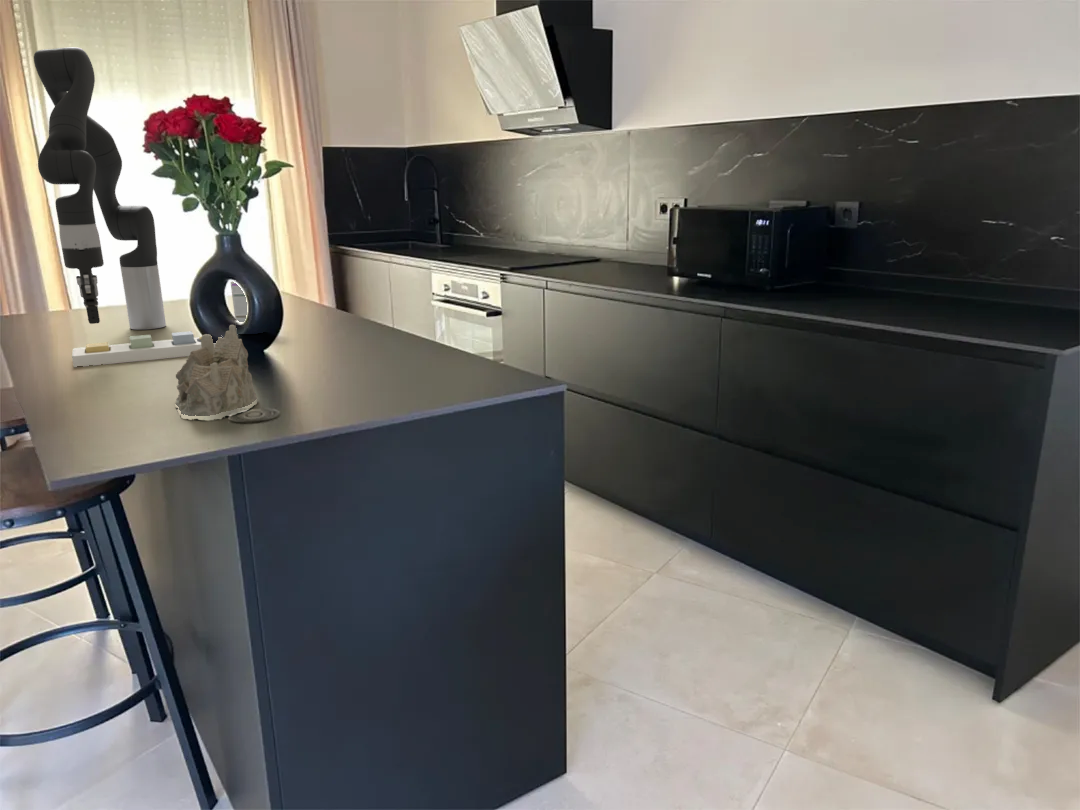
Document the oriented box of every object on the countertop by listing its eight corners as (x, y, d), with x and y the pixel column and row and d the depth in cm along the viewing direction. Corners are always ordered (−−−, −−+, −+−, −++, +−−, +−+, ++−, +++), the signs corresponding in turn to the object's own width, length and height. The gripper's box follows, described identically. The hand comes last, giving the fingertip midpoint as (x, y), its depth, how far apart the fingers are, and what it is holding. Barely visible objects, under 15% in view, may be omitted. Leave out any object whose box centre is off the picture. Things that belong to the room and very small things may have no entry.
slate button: (173, 345, 186) (171, 332, 185) (193, 343, 188) (191, 331, 187) (174, 348, 182) (173, 335, 181) (194, 346, 184) (193, 334, 183)
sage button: (131, 348, 182) (129, 336, 181) (152, 347, 184) (150, 334, 183) (132, 352, 178) (130, 339, 177) (153, 350, 180) (151, 337, 179)
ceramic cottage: (206, 391, 150) (195, 316, 144) (276, 402, 144) (267, 324, 139) (142, 419, 136) (127, 336, 131) (216, 432, 131) (204, 347, 125)
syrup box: (258, 335, 206) (252, 280, 202) (236, 335, 206) (229, 280, 202) (265, 331, 212) (260, 278, 207) (244, 331, 212) (238, 278, 208)
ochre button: (88, 356, 178) (86, 344, 177) (109, 354, 180) (107, 342, 179) (87, 360, 174) (85, 347, 173) (110, 358, 176) (108, 345, 175)
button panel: (75, 358, 179) (72, 345, 178) (222, 344, 194) (220, 332, 193) (73, 367, 171) (71, 353, 170) (227, 352, 185) (226, 339, 184)
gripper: (62, 243, 174) (76, 319, 179) (60, 248, 163) (74, 329, 168) (100, 242, 177) (112, 317, 182) (100, 246, 166) (113, 326, 171)
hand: (94, 322), depth 175 cm, fingers closed
